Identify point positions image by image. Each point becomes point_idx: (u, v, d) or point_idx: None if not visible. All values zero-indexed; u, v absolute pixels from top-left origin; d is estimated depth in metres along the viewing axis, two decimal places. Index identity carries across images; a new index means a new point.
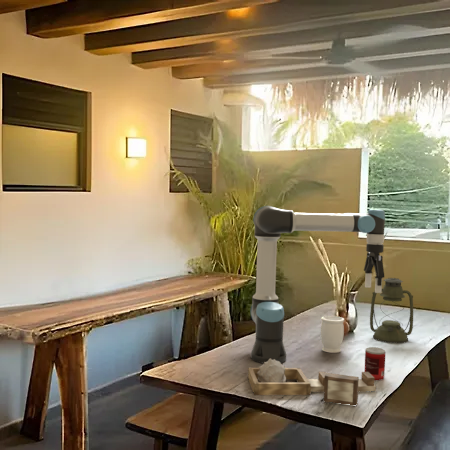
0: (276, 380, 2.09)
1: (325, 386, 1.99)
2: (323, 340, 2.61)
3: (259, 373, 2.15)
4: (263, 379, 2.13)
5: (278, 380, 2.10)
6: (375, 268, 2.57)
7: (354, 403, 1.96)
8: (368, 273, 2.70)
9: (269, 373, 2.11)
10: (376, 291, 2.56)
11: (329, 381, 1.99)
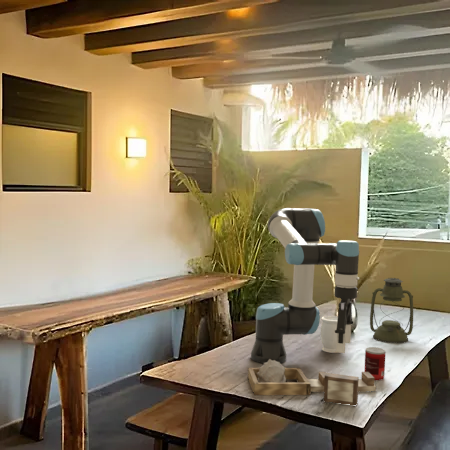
0: (276, 381, 2.09)
1: (325, 386, 1.99)
2: (323, 340, 2.61)
3: (259, 374, 2.15)
4: (263, 380, 2.12)
5: (278, 381, 2.09)
6: None
7: (354, 403, 1.96)
8: (346, 324, 2.05)
9: (268, 374, 2.10)
10: (337, 350, 1.92)
11: (329, 381, 1.99)
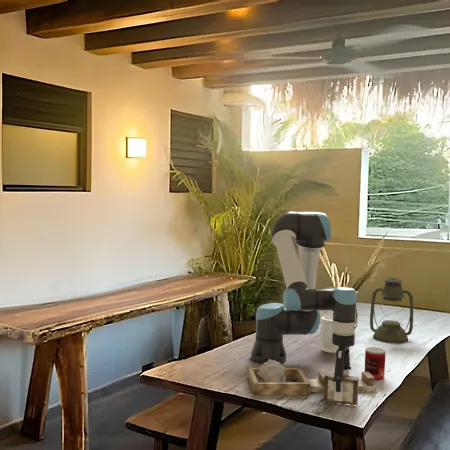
0: (275, 381, 2.09)
1: (325, 386, 1.99)
2: (323, 340, 2.61)
3: (259, 374, 2.15)
4: (263, 380, 2.12)
5: (277, 381, 2.09)
6: None
7: (354, 403, 1.96)
8: (344, 370, 2.05)
9: (268, 374, 2.10)
10: (335, 398, 1.93)
11: (329, 381, 1.99)
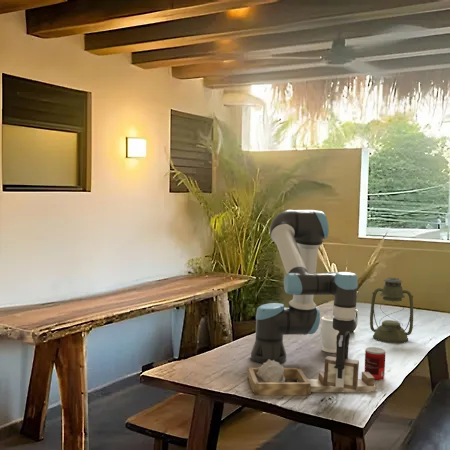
0: (275, 381, 2.08)
1: (325, 369, 1.99)
2: (323, 340, 2.61)
3: (258, 374, 2.14)
4: (262, 380, 2.12)
5: (277, 381, 2.09)
6: None
7: (354, 386, 1.96)
8: None
9: (268, 374, 2.10)
10: (336, 384, 1.98)
11: (329, 364, 1.99)
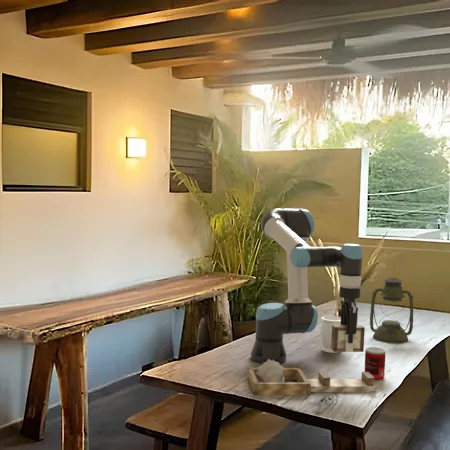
0: (275, 381, 2.08)
1: (335, 337, 2.10)
2: (323, 340, 2.61)
3: (258, 374, 2.14)
4: (262, 380, 2.12)
5: (277, 381, 2.09)
6: (347, 320, 2.09)
7: (362, 349, 2.11)
8: None
9: (267, 374, 2.10)
10: (347, 350, 2.10)
11: (339, 331, 2.11)
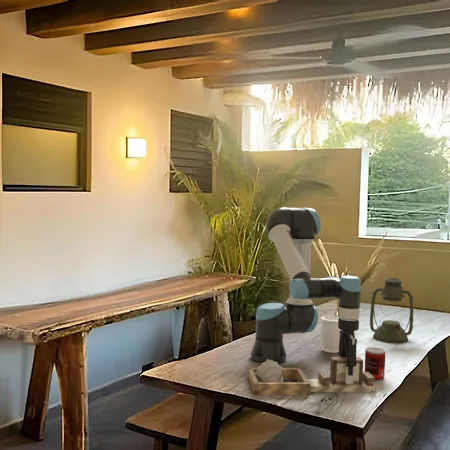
0: (274, 381, 2.08)
1: (334, 370, 2.11)
2: (323, 340, 2.61)
3: (256, 374, 2.14)
4: (261, 380, 2.12)
5: (276, 381, 2.09)
6: (347, 353, 2.09)
7: (360, 381, 2.12)
8: None
9: (266, 374, 2.10)
10: (347, 382, 2.10)
11: (337, 364, 2.12)
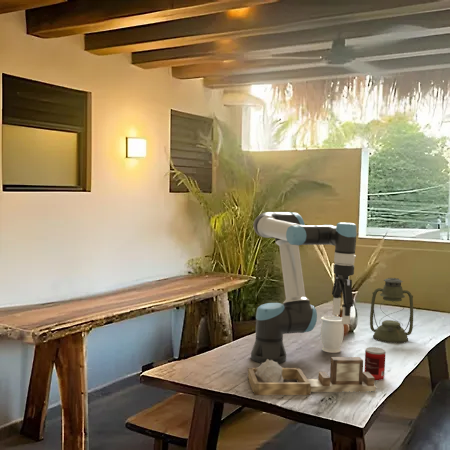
0: (274, 381, 2.08)
1: (334, 370, 2.11)
2: (323, 340, 2.61)
3: (257, 374, 2.14)
4: (261, 380, 2.12)
5: (276, 381, 2.09)
6: (343, 294, 2.14)
7: (360, 381, 2.12)
8: (336, 298, 2.26)
9: (267, 374, 2.10)
10: (343, 322, 2.13)
11: (337, 364, 2.12)
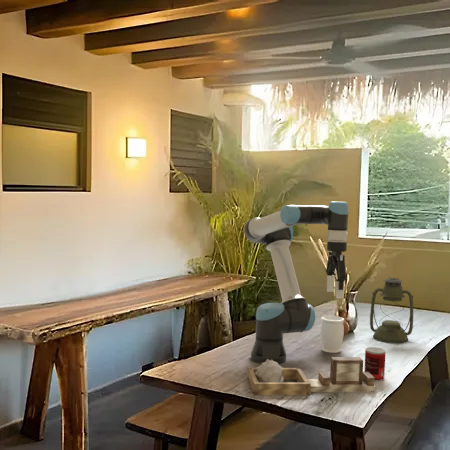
0: (274, 381, 2.08)
1: (334, 370, 2.11)
2: (323, 340, 2.61)
3: (257, 374, 2.14)
4: (261, 380, 2.12)
5: (276, 381, 2.09)
6: (336, 269, 2.22)
7: (360, 381, 2.12)
8: (330, 275, 2.34)
9: (267, 374, 2.10)
10: (337, 296, 2.21)
11: (337, 364, 2.12)
